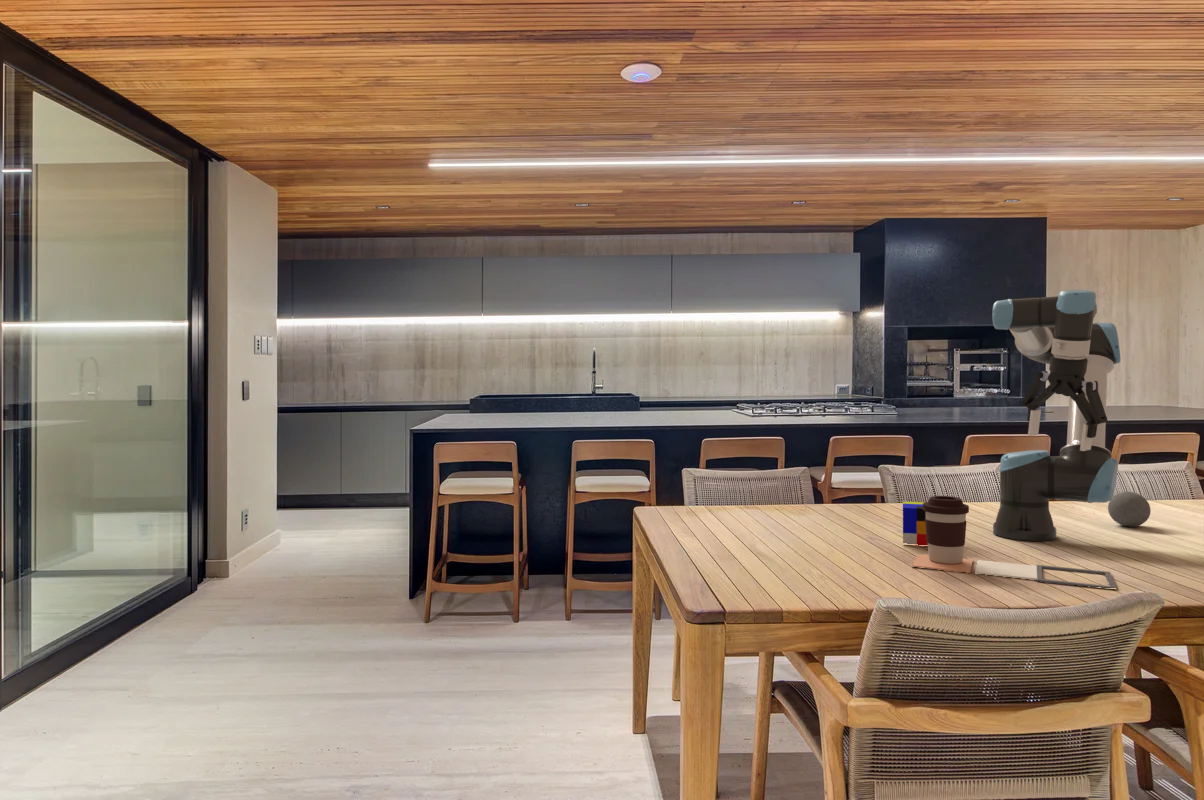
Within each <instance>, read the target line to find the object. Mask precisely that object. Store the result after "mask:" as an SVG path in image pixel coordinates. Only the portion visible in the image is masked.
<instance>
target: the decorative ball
mask: <svg viewBox="0 0 1204 800" xmlns="http://www.w3.org/2000/svg"><path fill="white" fill-rule="evenodd" d="M1107 510H1108V514H1109V516H1110V517H1111V519H1112V520H1113V521H1114V522H1115V523H1117V524H1119V525H1120V526H1123V527H1127V526H1129V528H1131V527H1132V528H1135V527H1139V526H1142V525H1144V524H1145V523H1146V522H1147V521H1148V520H1149V518H1150V515H1151V511H1152V510H1151V505H1150V503H1149V501H1148V500H1147V499H1146V498H1145V497H1144V496H1143V495H1141V494H1139V493H1136V492H1133V491H1122V492H1119V493H1116V494H1115V495H1113V497H1112V499H1111V500H1110V501H1108V504H1107Z"/></svg>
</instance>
